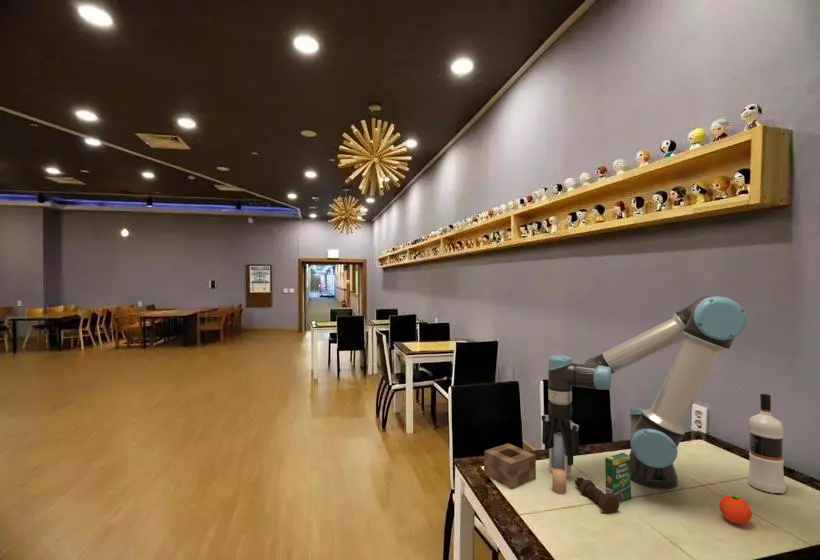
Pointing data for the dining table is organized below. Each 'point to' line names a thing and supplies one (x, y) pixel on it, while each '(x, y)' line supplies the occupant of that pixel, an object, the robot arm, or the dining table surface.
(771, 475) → the vodka
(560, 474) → the short dowel
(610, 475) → the coffee box
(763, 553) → the dining table surface
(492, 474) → the hole block
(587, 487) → the bolt
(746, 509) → the clementine
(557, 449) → the long dowel
